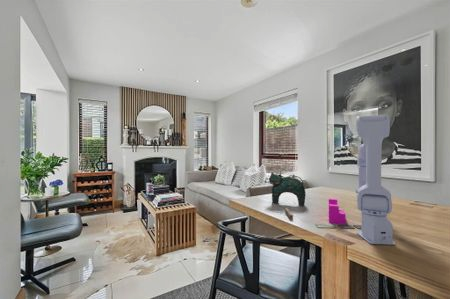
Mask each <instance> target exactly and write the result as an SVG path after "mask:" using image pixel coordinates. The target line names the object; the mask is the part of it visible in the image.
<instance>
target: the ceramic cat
mask: <svg viewBox="0 0 450 299" xmlns="http://www.w3.org/2000/svg"><path fill="white" fill-rule="evenodd" d="M282 171H285V172H288V171H287V170H286V169H285V168H282V169H280V173H279V174H278V173H274V172H271V173H270V176H269V178H268V179H269V180H268V181H269V183H270V184H271V185H272V188H271V203H272V204H273V203H274V204H275V205H278V204H279V203H278V202H279V201H280V196H281V195H282V194H284V193H285V194H286V193H290V194H293V195H295V196H296V198H297V202H298V203H297V204H298V206H299V207H304V206H305V201H306V197H307V196H306V189H305V187H304V186H305V185H304V181H303V180H302V178H301V177H300V176H297V175H294V176H292V175H287V176H283V175H282V173H281V172H282ZM277 203H278V204H277Z"/></svg>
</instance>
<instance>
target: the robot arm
mask: <svg viewBox="0 0 450 299" xmlns="http://www.w3.org/2000/svg"><path fill="white" fill-rule="evenodd" d="M355 123H356V124H355V127H356V130H355V131H356V132H357V135H358V138H361V139H362V140H363V143H362V144H361V145H360V146H359V152H358V155H357V161H356V162H357V169H358V188H355V193H356V208H357V210H359V211H361V225H362V229H361V231H356V235H358V236H359V237H360V238H362V239H363V240H365V241H366V242H368V244H371V245H373V244H374V245H394V246H395V245H396V242H394V241H393V239H394V238H393V237H394V236H393V235H394V234H393V231H394V230H393V228H394V227H393V223H392V222H391V221H390V220H389V219H388V218H387V217H388V214H390V213H391V212H392V210H393V201H392V200H393V199H392V194H391V192H390V190H389V189H387V188H386V187H385V186H383V185H382V151H383V150H382V148H383V147H382V144H383V140H384V139H385V138H388V137H390V132H391V131H390V130H391V129H390V128H391V126H390V125H391V119H390V115H388V114H379V115H377V114H376V115H362V116H361V115H358V116H357V117H356V121H355Z"/></svg>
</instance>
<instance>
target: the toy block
mask: <svg viewBox="0 0 450 299" xmlns="http://www.w3.org/2000/svg"><path fill="white" fill-rule="evenodd" d="M346 215H347V214H346V211H345V210H342V209H340V207H339V204H338V199H337V198H329V197H328V223H330V224H337V225H347V224H346V220H347V218H346V217H347V216H346Z"/></svg>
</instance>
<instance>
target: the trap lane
mask: <svg viewBox="0 0 450 299" xmlns="http://www.w3.org/2000/svg"><path fill="white" fill-rule="evenodd" d="M284 210H285V211H284V212H285V214H286V216H287V218H288V219H289V220H290V221H293V220H294V214H292V212H291V211H290V209H289V208H287V207H285V209H284ZM315 226H316V227H317V228H318V229H319V228H321V229H337V226H338V227H339V228H340V229H345V230H346V229H347V230H348V229H351V230H352V229H353V230H354V229H357V230H362V224H359V225H358V224H353V225H351V224H346V225H345V224H337V226H336V225H335V224H334V223H330V224H328V223H323V224H322V223H315Z"/></svg>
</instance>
